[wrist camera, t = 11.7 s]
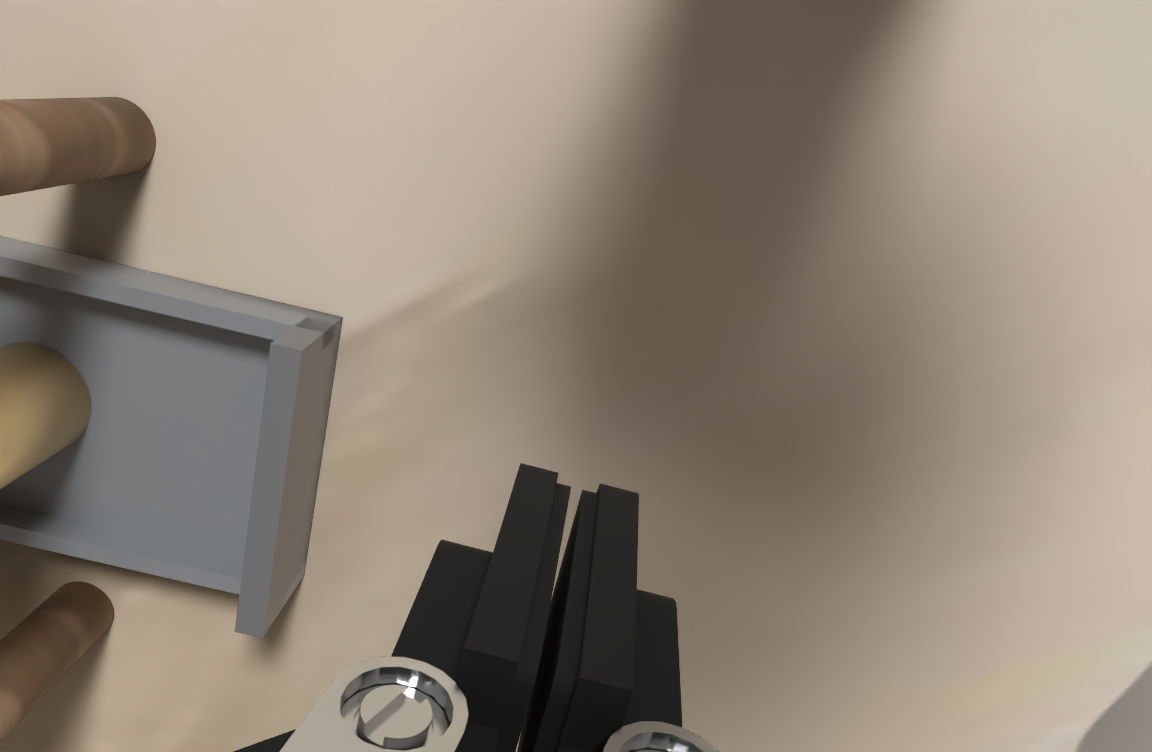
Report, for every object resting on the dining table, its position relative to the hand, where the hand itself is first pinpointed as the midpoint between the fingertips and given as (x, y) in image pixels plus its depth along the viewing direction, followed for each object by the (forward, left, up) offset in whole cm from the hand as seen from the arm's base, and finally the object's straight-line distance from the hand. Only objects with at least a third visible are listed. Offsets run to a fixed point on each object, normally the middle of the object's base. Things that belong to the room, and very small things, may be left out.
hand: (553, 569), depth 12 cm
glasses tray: (+21, +12, -25) cm, 35 cm away
